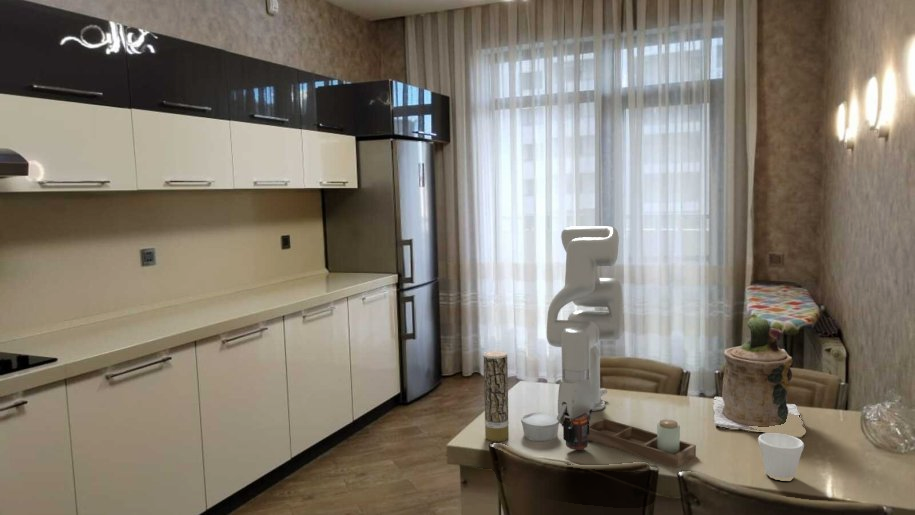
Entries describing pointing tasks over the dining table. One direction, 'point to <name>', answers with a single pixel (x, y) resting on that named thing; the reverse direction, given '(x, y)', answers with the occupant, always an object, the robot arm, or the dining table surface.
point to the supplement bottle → (579, 433)
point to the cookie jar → (755, 381)
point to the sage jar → (668, 436)
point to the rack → (637, 442)
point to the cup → (780, 453)
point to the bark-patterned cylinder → (496, 395)
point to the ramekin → (540, 426)
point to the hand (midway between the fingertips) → (576, 436)
